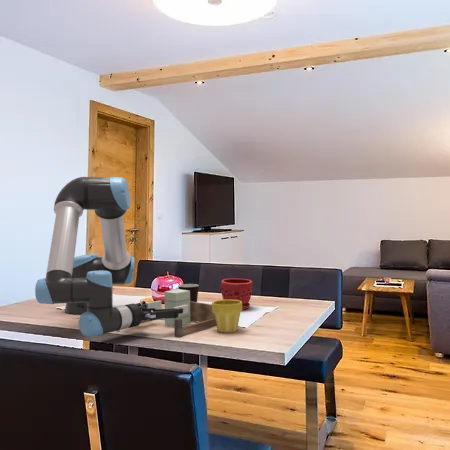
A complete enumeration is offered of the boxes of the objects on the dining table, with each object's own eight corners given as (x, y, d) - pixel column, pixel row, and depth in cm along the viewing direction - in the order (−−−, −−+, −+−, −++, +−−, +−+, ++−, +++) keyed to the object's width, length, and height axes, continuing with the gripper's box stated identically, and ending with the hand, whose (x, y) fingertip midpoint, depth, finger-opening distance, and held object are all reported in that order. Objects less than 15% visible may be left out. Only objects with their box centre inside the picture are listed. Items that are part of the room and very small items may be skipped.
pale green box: (164, 324, 166) (164, 291, 166) (178, 321, 171) (178, 289, 171) (176, 327, 162) (176, 293, 162) (190, 323, 167) (190, 290, 167)
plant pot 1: (216, 310, 190) (216, 281, 190) (228, 304, 202) (228, 277, 202) (246, 312, 185) (246, 283, 185) (256, 306, 197) (256, 278, 197)
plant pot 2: (211, 327, 162) (211, 299, 162) (240, 326, 163) (240, 298, 162) (213, 334, 151) (212, 305, 151) (244, 333, 152) (243, 304, 152)
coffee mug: (196, 311, 188) (195, 287, 188) (175, 310, 190) (175, 286, 190) (203, 306, 199) (202, 283, 199) (183, 305, 201) (183, 282, 201)
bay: (126, 325, 165) (125, 306, 165) (168, 315, 181) (168, 297, 181) (178, 337, 148) (178, 315, 148) (219, 325, 164) (219, 305, 164)
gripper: (102, 322, 156) (150, 312, 172) (151, 334, 140) (199, 321, 156) (102, 300, 156) (150, 292, 172) (151, 309, 140) (199, 299, 156)
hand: (173, 306), depth 164 cm, fingers open, 13 cm apart
